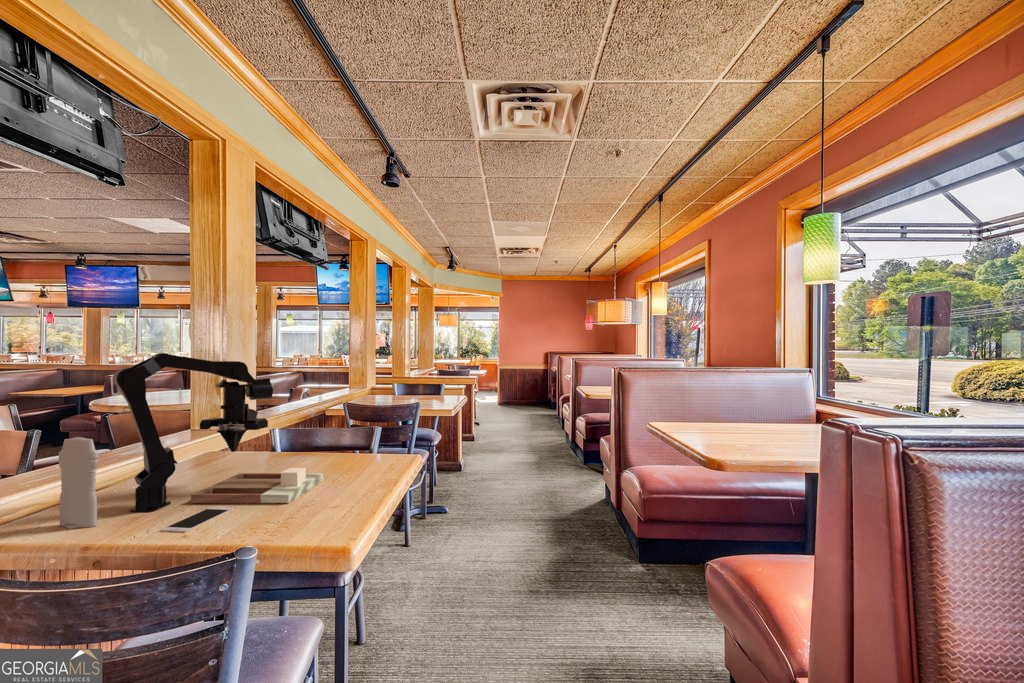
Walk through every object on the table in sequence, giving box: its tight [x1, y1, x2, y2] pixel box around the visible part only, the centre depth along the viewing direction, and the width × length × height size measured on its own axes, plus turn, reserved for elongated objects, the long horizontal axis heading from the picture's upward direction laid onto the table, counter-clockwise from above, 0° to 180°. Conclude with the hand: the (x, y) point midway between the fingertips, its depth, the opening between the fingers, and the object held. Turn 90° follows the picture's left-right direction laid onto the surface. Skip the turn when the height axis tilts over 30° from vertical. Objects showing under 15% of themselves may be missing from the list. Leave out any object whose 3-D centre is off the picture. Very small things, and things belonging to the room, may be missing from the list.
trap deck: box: [190, 472, 324, 504], centre depth 133 cm, size 21×28×2 cm
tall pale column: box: [58, 436, 99, 530], centre depth 109 cm, size 11×4×22 cm, turn 84°
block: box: [280, 467, 307, 486], centre depth 133 cm, size 5×5×4 cm
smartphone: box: [160, 506, 236, 533], centre depth 112 cm, size 7×16×1 cm, turn 173°
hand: (233, 451), depth 136 cm, fingers closed
